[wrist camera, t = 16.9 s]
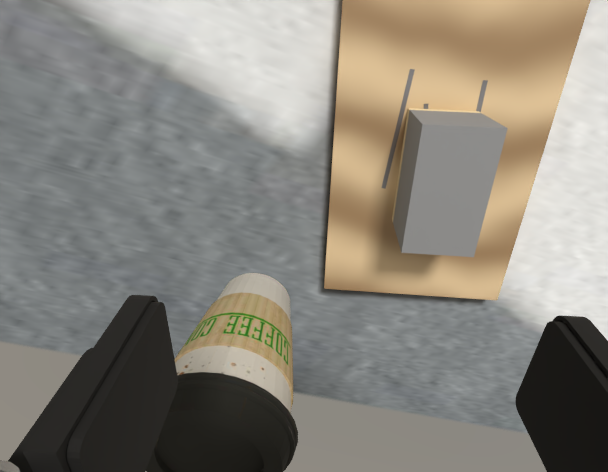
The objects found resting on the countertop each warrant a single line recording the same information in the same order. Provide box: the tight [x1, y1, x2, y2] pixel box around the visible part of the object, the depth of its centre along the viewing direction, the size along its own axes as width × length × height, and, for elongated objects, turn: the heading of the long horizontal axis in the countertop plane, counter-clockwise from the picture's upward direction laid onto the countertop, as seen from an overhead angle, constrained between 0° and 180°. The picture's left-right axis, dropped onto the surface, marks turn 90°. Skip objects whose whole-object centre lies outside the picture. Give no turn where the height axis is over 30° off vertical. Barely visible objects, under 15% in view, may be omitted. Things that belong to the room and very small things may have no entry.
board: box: [324, 0, 590, 300], centre depth 27 cm, size 26×14×2 cm, turn 178°
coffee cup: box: [146, 273, 298, 472], centre depth 29 cm, size 10×10×15 cm
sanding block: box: [392, 108, 508, 257], centre depth 26 cm, size 8×4×5 cm, turn 178°
